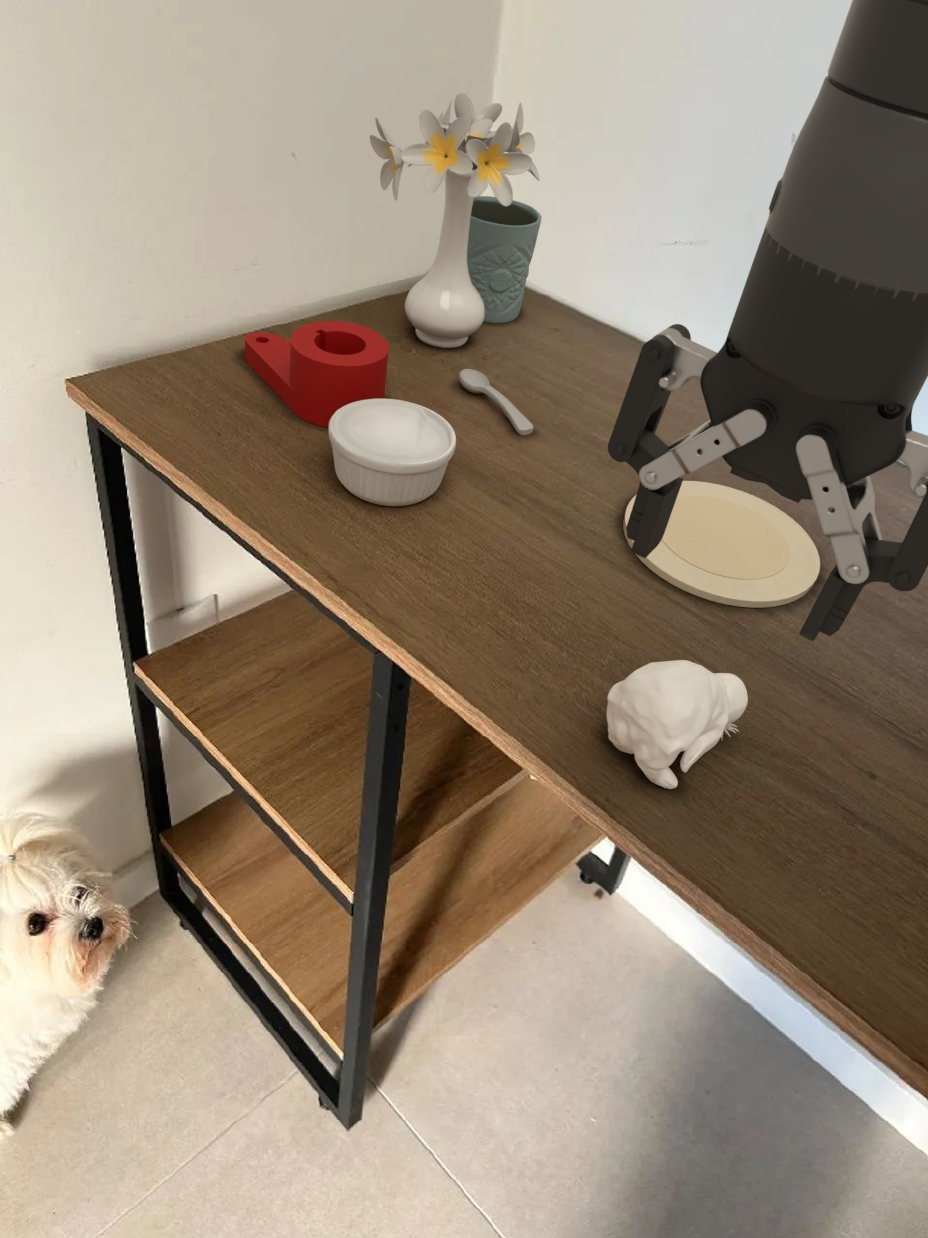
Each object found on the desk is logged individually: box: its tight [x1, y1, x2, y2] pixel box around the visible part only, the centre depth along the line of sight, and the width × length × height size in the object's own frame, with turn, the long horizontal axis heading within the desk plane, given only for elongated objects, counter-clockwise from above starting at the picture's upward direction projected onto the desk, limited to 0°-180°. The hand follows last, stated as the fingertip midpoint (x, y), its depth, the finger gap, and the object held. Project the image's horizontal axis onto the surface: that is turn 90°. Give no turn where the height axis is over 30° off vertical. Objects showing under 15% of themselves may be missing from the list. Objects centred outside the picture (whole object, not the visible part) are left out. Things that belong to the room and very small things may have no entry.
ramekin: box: [328, 398, 457, 507], centre depth 84 cm, size 11×11×5 cm
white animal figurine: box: [606, 659, 749, 790], centre depth 63 cm, size 6×8×12 cm
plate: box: [622, 480, 821, 609], centre depth 85 cm, size 18×18×1 cm
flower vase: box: [369, 92, 541, 349], centre depth 100 cm, size 13×18×25 cm
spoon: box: [458, 368, 534, 436], centre depth 98 cm, size 3×12×2 cm, turn 34°
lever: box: [244, 320, 390, 429], centre depth 94 cm, size 18×9×7 cm, turn 49°
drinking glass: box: [467, 195, 542, 324], centre depth 113 cm, size 10×10×12 cm
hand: (725, 587), depth 44 cm, fingers open, 8 cm apart
